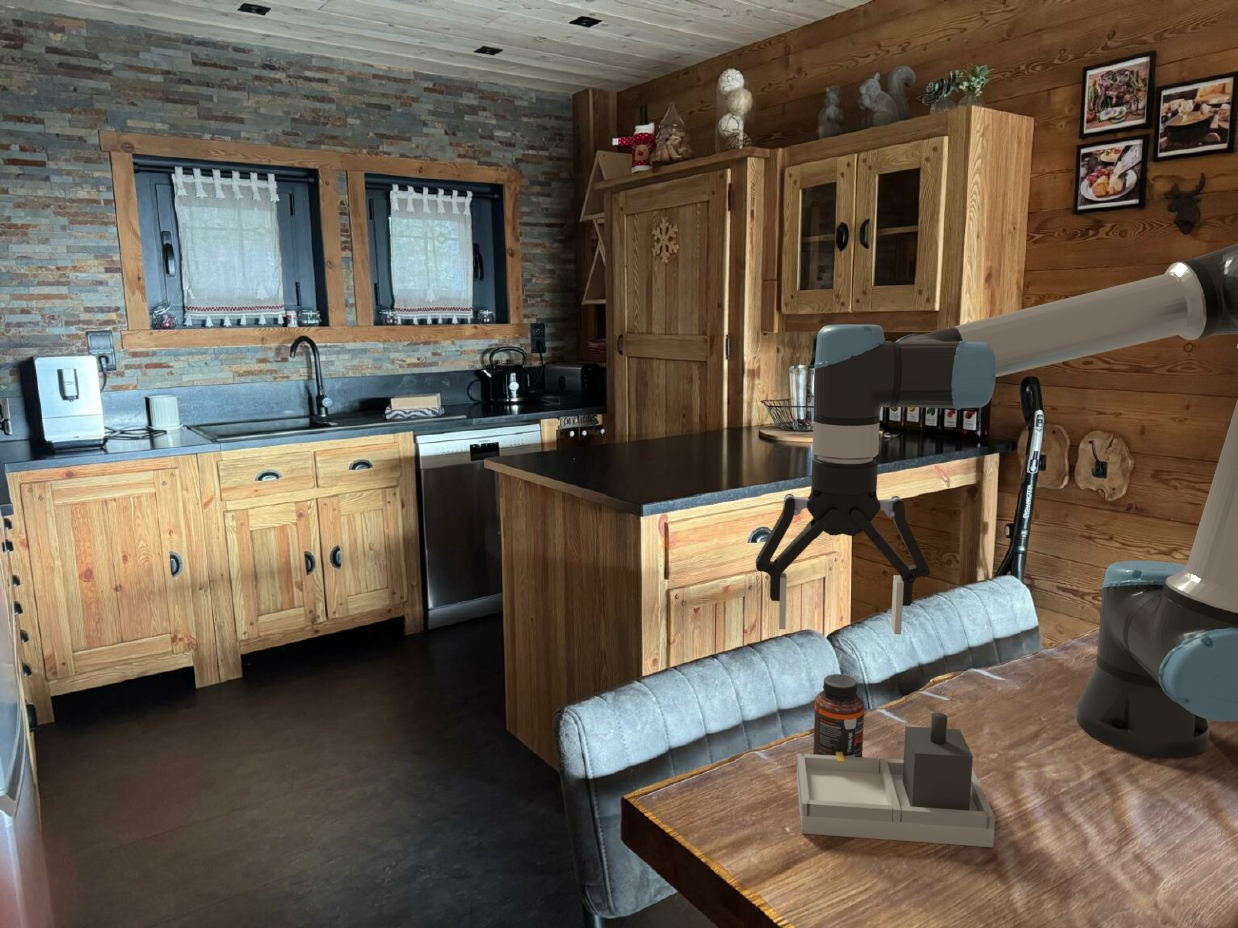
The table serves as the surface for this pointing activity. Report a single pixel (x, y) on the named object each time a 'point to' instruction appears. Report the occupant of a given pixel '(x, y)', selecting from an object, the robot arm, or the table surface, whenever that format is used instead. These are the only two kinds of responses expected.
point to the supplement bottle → (839, 718)
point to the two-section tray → (896, 809)
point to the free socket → (839, 808)
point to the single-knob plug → (937, 766)
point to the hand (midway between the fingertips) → (838, 627)
